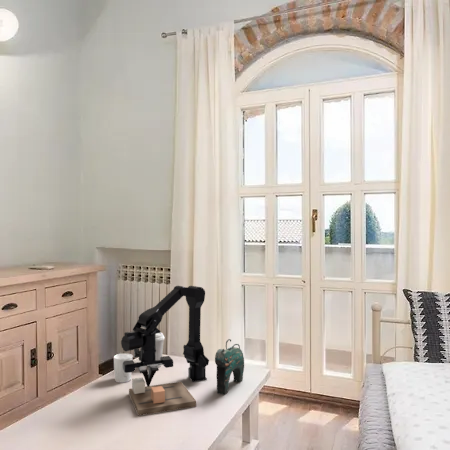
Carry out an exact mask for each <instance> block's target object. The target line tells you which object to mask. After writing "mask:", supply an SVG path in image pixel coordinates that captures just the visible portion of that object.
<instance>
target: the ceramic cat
mask: <svg viewBox="0 0 450 450" xmlns="http://www.w3.org/2000/svg"><path fill="white" fill-rule="evenodd" d="M229 341H230V343H231V342H232V339H230V338H228V339H227V340H226V342H225V348H220V349H217V351H216V353H215V354H214V362H215V363H214V364H216V393H217V394H219V395H225V396H226V394H227V393H228V392H229V385H230V379H231V375H233V382H237V383H241V382H242V381H243V379H244V371H245V356H244V353H243V350H242V349H241V345H240V344H239V343H235V344H233V345H232V346H229V347H228V342H229ZM235 346H238V347H235Z"/></svg>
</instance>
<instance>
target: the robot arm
mask: <svg viewBox="0 0 450 450" xmlns="http://www.w3.org/2000/svg"><path fill="white" fill-rule="evenodd" d="M183 297H185V300H186V303H187V306H188V341H187V343H186V344H183V353H182V355H184V356H183V357H184V359H185V360H186V363H187V364H189V367H188V368H187V369H188V371H187V372H188V374H187V375H188V376H187V377H188V379H190V381H191V382H192V383H193V382H199V381H207V379H208V378H207V377H206V372H207V371H206V367H207V366H208V365H209V362H210V359H209V358H208V357H207V356H206V355H205V351H204V349H205V348H204V346H203V344H202V342H201V319H202V318H201V317H202V316H201V314H202V313H201V312H202V311H201V309H202V306H203V304H204V302H205V297H206V291H205V289H204V288H203V287H201V286H195V285H189V286H187V287H186V286H182V285H176V286H173V289H172V290H171V291H170V292H169V293H168V294H166V296H165V297H163V298H162V299H161V300H160V301H159V302H158V303H156V305H155V306H153V307H151V308H149V309H146V310H145V311H143V312H141V314H139V316H138V320H137V321H136V323H135V325H134V326H133V328H132V331H125V332H124V335H123V336H122V338H121V341H120V344H121V348H122V350H123V351H124V352H129V351H130V352H131V351H133V358H135V359H136V358H138V362H135V361H134V360H130V361H124V362H123V370H124V372H125V373H128V372H132V373H134V372H135V371H136V369H137V370H138V372H139V373H140V374H143V375H142V376H143V379H144V381H145V385H146V386H147V387H149V386H151V383H152V380H153V379H154V376H155V375H156V372H158V371H160V369H159V368H158V365H161V366H164V367H165V368H166V369H167V368H173V367H174V360H173V358H171V356H170V355H165V356H162V357H161V358H160V360H156V333H160V332H161V330H160V329H159V328H158V326H159V325H160V323H161V322H162V319H163V316H164V315H165V314H166V313H167V312H168V311H170V309H171V308H172V307H173V306H174V305H176V303H177V302H179V301H180V300H181V299H182V298H183ZM161 333H162V332H161Z"/></svg>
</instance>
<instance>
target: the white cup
mask: <svg viewBox="0 0 450 450" xmlns="http://www.w3.org/2000/svg"><path fill="white" fill-rule="evenodd" d="M133 358H134V354H131V353H118V354H116V355H114V356H113V371H114V381H115V382H117V383H127V382H130V381H132V373H133V372H128V373H125V372H124V370H123V362H124V361H130V360H133ZM133 361H134V360H133Z"/></svg>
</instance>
